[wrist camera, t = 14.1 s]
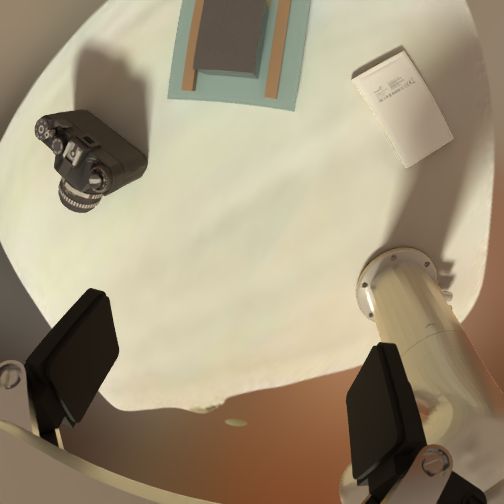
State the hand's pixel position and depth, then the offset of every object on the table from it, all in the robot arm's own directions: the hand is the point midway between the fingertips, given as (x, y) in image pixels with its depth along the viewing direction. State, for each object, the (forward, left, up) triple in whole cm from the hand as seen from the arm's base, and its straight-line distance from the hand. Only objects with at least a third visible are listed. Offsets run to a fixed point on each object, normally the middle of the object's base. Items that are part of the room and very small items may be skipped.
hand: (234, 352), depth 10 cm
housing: (+6, -16, -25) cm, 31 cm away
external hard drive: (-14, -12, -29) cm, 34 cm away
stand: (+6, -16, -28) cm, 33 cm away
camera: (+24, 0, -29) cm, 38 cm away
